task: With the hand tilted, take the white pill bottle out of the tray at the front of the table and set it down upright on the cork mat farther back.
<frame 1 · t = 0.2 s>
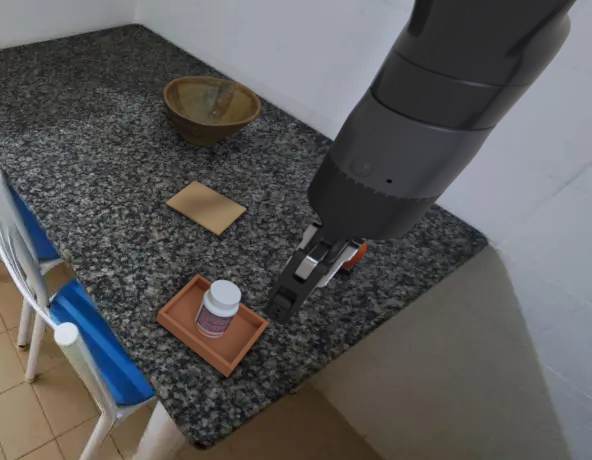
hand: (295, 292, 39), 19 cm above the table, tool pointing down, fingers open, 8 cm apart
bowl: (200, 136, 94), on the table
fruit: (326, 259, 68), on the table
tray: (209, 325, 58), on the table
mat: (205, 206, 76), on the table
pill bottle: (209, 324, 58), resting on tray
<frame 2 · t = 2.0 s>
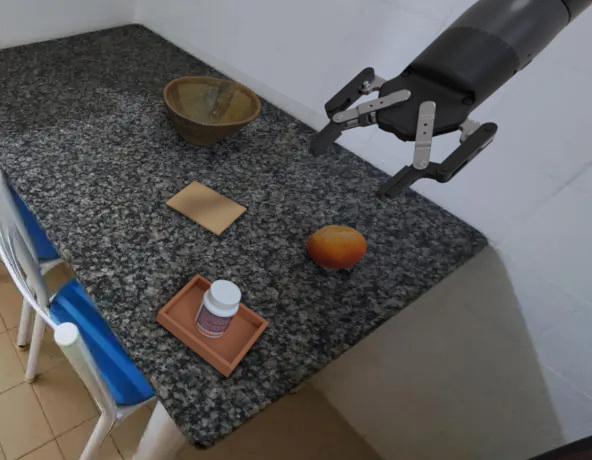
hand: (343, 174, 44), 25 cm above the table, tool tilted 45°, fingers open, 8 cm apart
nothing on the table moved.
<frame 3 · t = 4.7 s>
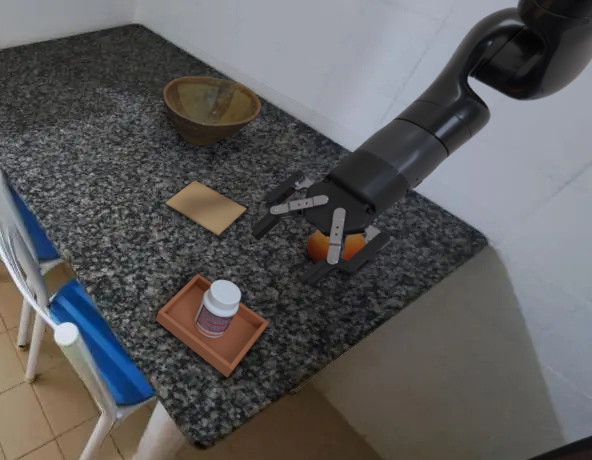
hand: (276, 258, 52), 12 cm above the table, tool tilted 45°, fingers open, 8 cm apart
nothing on the table moved.
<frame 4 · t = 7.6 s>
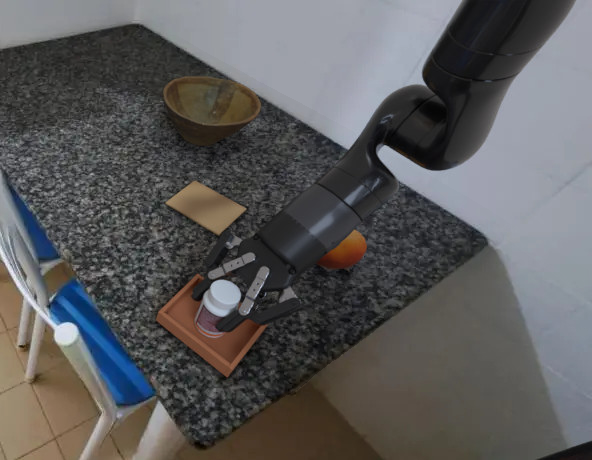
hand: (206, 313, 54), 5 cm above the table, tool tilted 45°, fingers closed on pill bottle, 4 cm apart
pill bottle: (209, 324, 58), resting on tray, touching gripper
everything else where it was.
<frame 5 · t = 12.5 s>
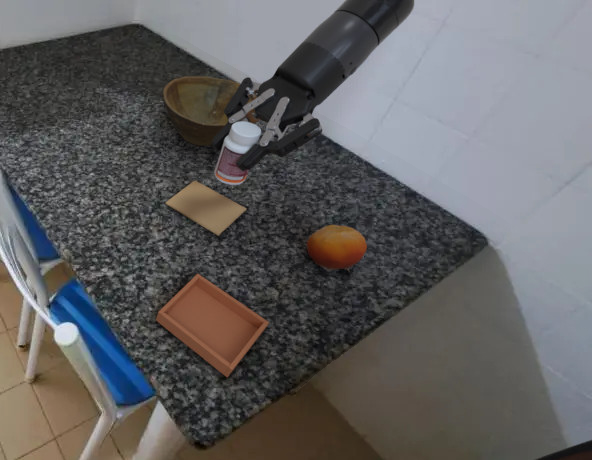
hand: (227, 157, 57), 18 cm above the table, tool tilted 45°, fingers closed on pill bottle, 4 cm apart
pill bottle: (229, 177, 60), point 14 cm above the table, touching gripper
everything else where it was.
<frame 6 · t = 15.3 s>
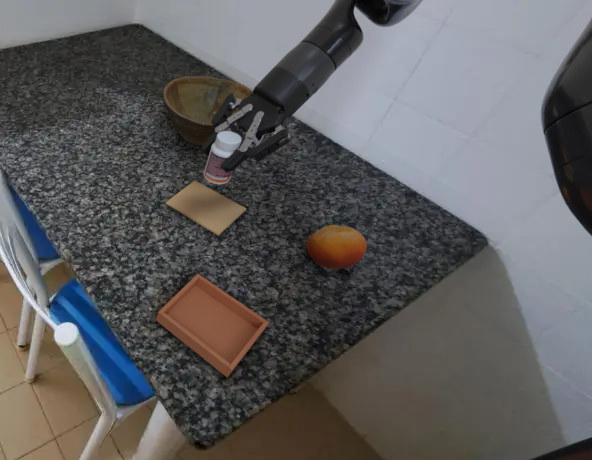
hand: (214, 161, 67), 12 cm above the table, tool tilted 45°, fingers closed on pill bottle, 4 cm apart
pill bottle: (216, 177, 71), point 7 cm above the table, touching gripper
everything else where it was.
when the fingers open (5 cm above the table, at t = 17.6 s): pill bottle stays where it is, resting on mat.
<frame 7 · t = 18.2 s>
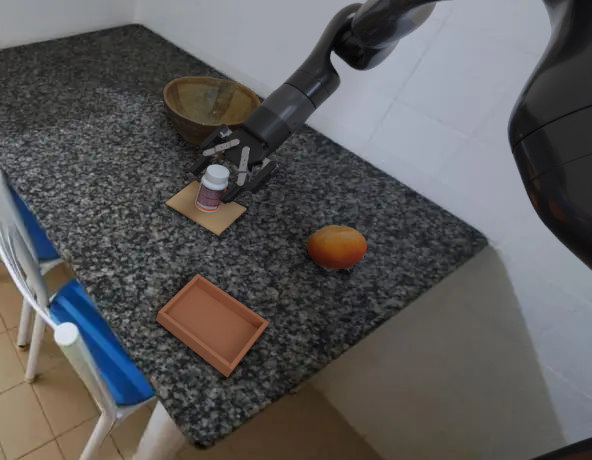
hand: (206, 187, 72), 5 cm above the table, tool tilted 45°, fingers open, 8 cm apart
pill bottle: (206, 206, 76), resting on mat
everything else where it was.
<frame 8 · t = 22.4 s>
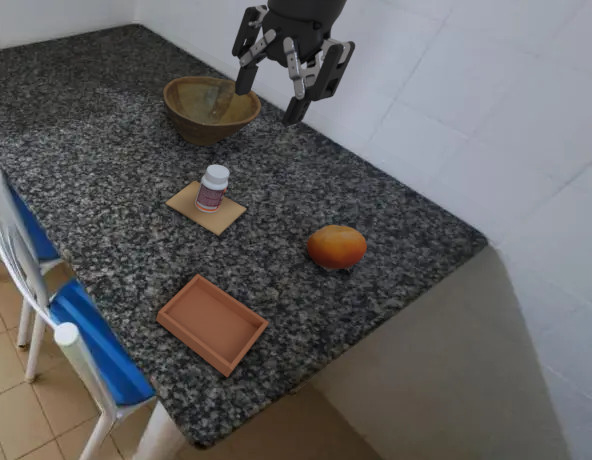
hand: (264, 108, 51), 26 cm above the table, tool pointing down, fingers open, 8 cm apart
nothing on the table moved.
at the end: pill bottle inside the target area on the mat (0.1 cm from its centre), point 0.2 cm above the mat's base; pill bottle tilted 0°; the gripper is holding nothing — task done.
